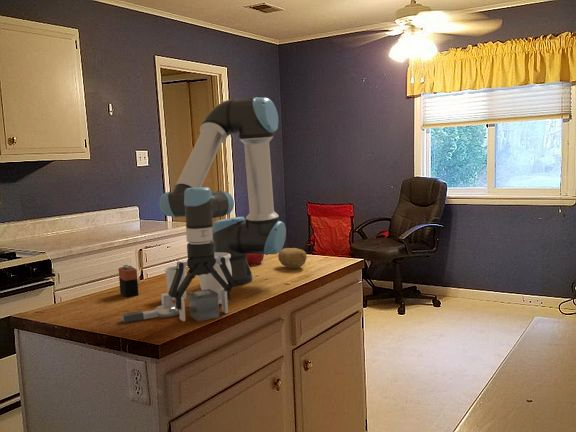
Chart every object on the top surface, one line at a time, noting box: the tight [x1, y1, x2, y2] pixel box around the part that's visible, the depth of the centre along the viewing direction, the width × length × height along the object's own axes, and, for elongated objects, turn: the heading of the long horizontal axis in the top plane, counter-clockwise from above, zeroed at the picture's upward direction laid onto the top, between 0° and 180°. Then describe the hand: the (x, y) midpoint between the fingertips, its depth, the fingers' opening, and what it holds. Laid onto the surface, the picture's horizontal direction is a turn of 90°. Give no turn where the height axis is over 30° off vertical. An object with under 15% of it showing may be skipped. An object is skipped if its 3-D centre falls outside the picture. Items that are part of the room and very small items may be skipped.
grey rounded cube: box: [188, 289, 220, 322], centre depth 157 cm, size 6×6×7 cm
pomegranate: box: [246, 254, 265, 266], centre depth 230 cm, size 10×10×9 cm
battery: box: [118, 264, 139, 298], centre depth 186 cm, size 4×7×10 cm, turn 35°
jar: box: [198, 252, 232, 306], centre depth 172 cm, size 11×10×15 cm
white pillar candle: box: [164, 265, 187, 302], centre depth 179 cm, size 7×7×10 cm
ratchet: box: [121, 292, 180, 324], centre depth 159 cm, size 16×7×6 cm, turn 119°
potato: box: [277, 247, 307, 269], centre depth 219 cm, size 10×14×8 cm
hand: (204, 316), depth 157 cm, fingers open, 12 cm apart
